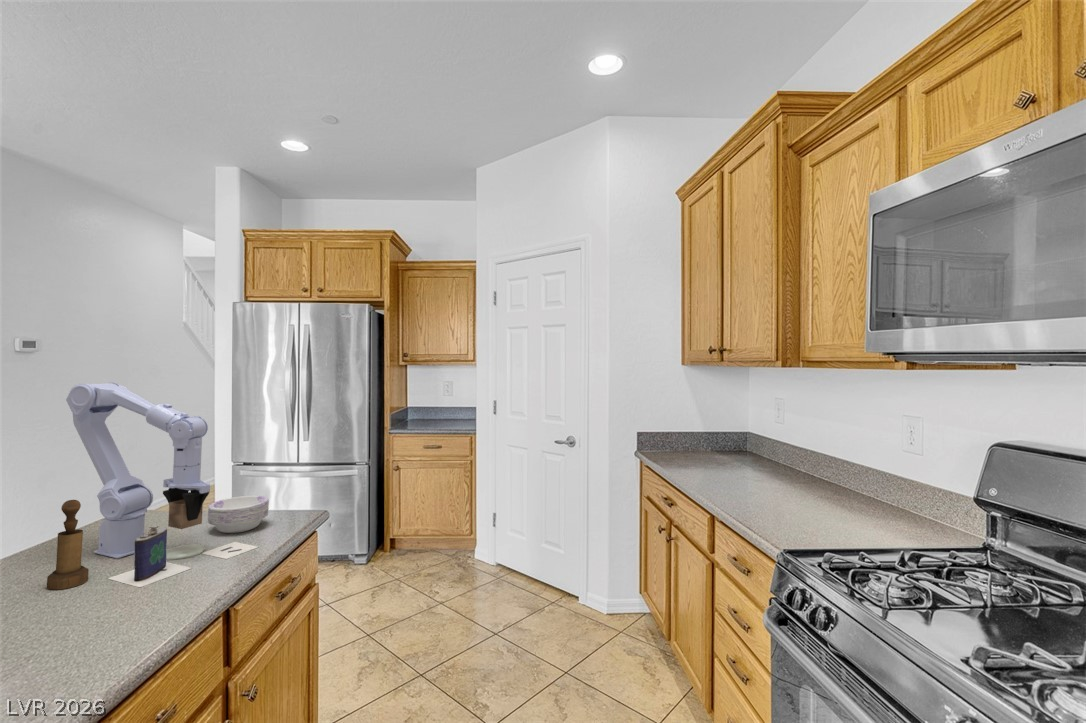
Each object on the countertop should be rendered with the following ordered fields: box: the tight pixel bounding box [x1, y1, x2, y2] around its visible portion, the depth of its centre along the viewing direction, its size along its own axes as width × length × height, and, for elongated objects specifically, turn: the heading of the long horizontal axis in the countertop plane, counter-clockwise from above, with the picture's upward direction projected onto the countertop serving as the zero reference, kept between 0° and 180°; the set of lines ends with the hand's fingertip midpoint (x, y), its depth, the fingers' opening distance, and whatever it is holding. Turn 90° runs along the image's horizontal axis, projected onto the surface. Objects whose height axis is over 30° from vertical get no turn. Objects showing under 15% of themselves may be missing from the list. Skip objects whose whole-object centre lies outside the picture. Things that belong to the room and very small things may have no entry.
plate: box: [166, 543, 206, 561], centre depth 124 cm, size 9×9×1 cm
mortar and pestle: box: [46, 499, 89, 591], centre depth 106 cm, size 7×6×18 cm
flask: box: [133, 525, 168, 582], centre depth 112 cm, size 9×3×11 cm, turn 8°
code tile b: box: [201, 541, 259, 560], centre depth 126 cm, size 9×9×1 cm
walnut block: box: [167, 499, 204, 530], centre depth 124 cm, size 5×5×6 cm
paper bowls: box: [207, 495, 270, 534], centre depth 144 cm, size 15×15×8 cm
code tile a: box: [107, 561, 193, 588], centre depth 111 cm, size 11×11×1 cm
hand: (185, 518), depth 124 cm, fingers closed on walnut block, 5 cm apart
